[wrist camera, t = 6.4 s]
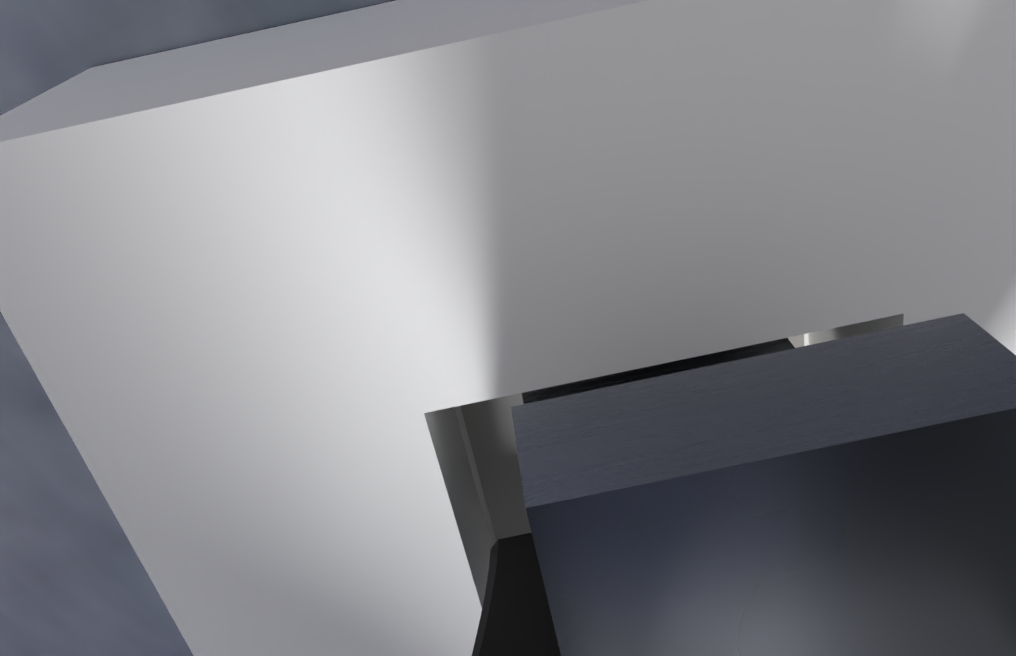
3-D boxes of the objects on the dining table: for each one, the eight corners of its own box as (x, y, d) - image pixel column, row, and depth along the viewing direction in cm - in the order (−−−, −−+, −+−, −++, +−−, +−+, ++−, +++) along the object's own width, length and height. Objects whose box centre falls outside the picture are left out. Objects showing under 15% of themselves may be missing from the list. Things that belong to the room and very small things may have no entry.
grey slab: (568, 587, 13) (658, 1057, 8) (476, 172, 10) (524, 508, 5) (753, 550, 13) (968, 1000, 8) (725, 119, 10) (1066, 396, 4)
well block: (356, 684, 16) (334, 906, 13) (90, 67, 10) (-84, 160, 7) (962, 562, 16) (1112, 755, 12) (1034, -140, 10) (1351, -154, 7)
